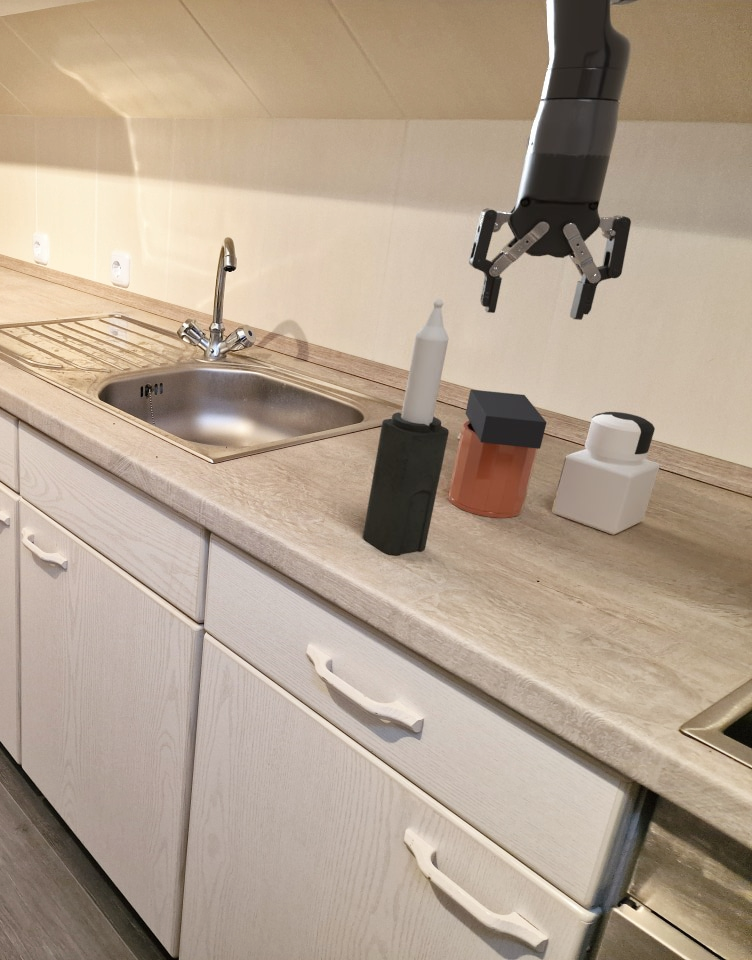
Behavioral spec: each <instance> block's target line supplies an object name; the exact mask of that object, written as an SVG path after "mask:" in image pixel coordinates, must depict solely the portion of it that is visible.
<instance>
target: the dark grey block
mask: <svg viewBox="0 0 752 960" xmlns="http://www.w3.org/2000/svg"><path fill="white" fill-rule="evenodd" d="M465 415H466V417H467V419H468V421H470V423H471V425H472V427H473V429H474V430H475V432H476V434H477V436H478V438H479V440H480V442H483V443H492V444H501V445H510V446H519V447H528V448H537V449H538V450H540V449H541V446H542V443H543V439H544V435H545V431H546V427H547V423H548V422H547V421H546V419H544V417H543V416H542V414H541V413H540V412H539V411H538V409H537V408H536V407H535V406H534V405H533V403H532V402H531V401H530V399H529V398H528V397H527V396H526V395H525V394H520V393H509V392H500V391H490V390H481V389H470V391H469V395H468V400H467V404H466V410H465Z"/></svg>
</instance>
